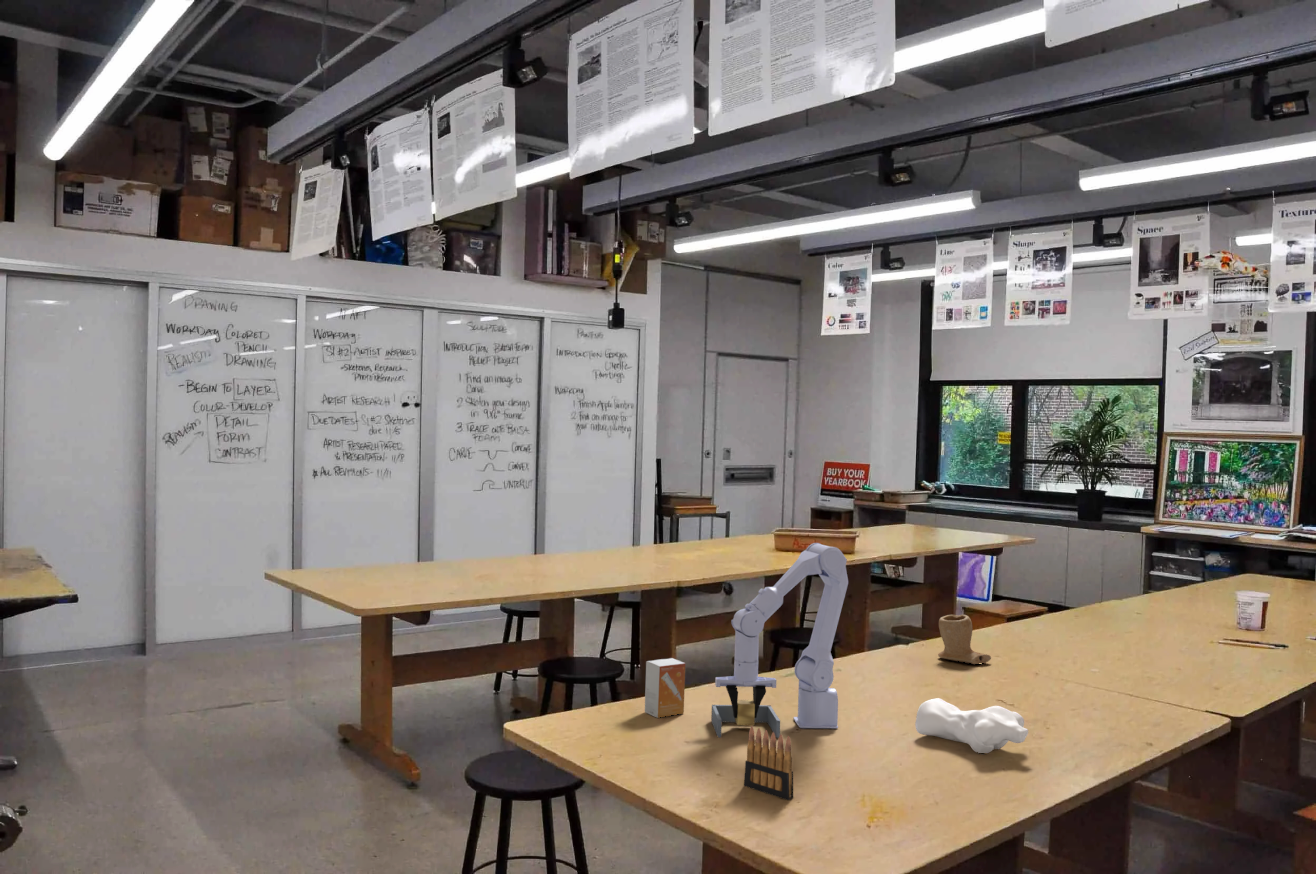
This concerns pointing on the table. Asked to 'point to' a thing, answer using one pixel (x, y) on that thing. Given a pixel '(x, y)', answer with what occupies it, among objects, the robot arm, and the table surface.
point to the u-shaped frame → (763, 715)
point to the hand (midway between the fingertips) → (744, 716)
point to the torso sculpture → (971, 725)
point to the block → (745, 712)
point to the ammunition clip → (769, 765)
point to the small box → (664, 687)
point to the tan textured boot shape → (959, 640)
